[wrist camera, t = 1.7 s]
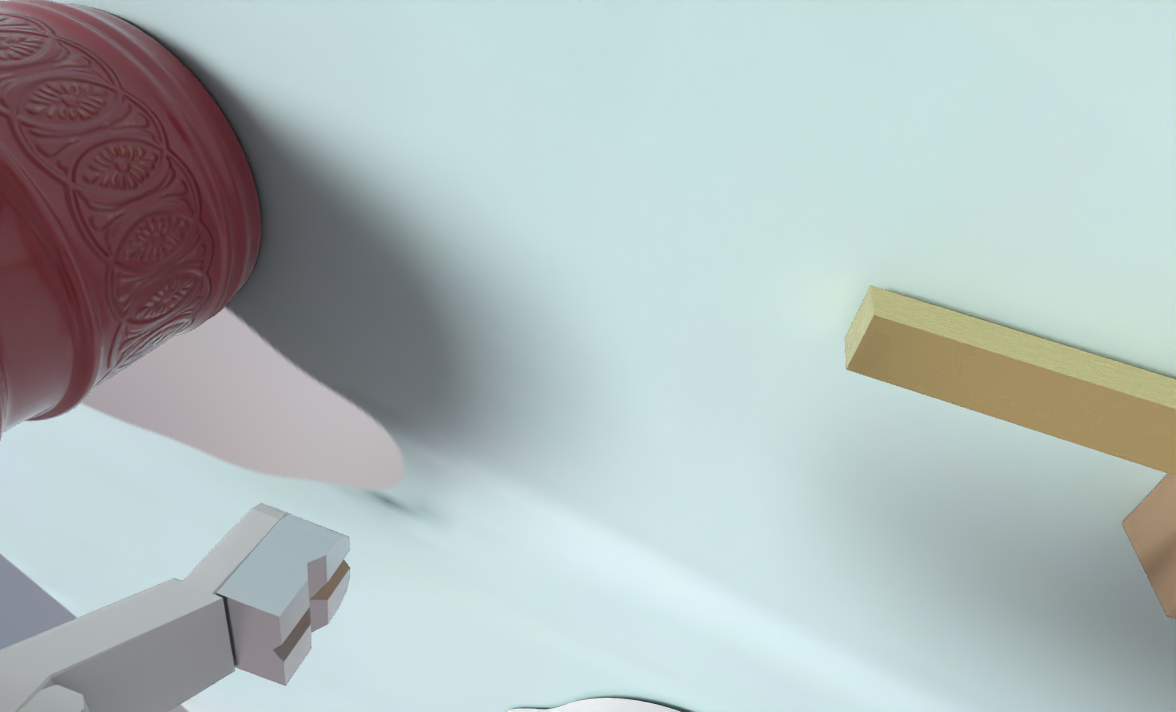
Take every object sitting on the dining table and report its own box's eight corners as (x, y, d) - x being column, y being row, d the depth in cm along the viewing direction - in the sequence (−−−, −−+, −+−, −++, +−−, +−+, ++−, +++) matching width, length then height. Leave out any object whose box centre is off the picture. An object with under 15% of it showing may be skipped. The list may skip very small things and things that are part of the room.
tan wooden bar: (1275, 409, 21) (1313, 451, 19) (1226, 458, 22) (1259, 502, 20) (870, 285, 22) (873, 314, 20) (844, 337, 23) (846, 369, 22)
